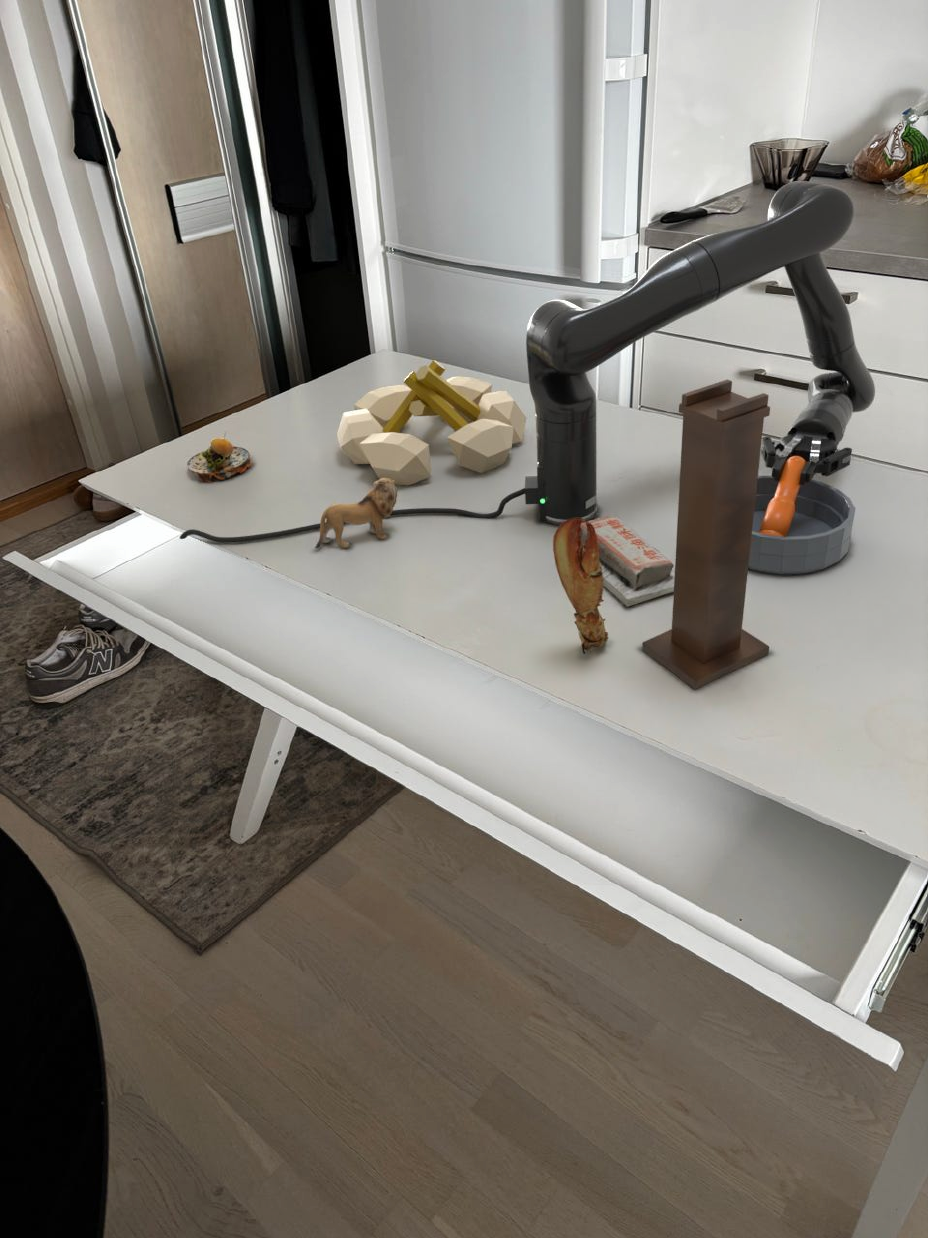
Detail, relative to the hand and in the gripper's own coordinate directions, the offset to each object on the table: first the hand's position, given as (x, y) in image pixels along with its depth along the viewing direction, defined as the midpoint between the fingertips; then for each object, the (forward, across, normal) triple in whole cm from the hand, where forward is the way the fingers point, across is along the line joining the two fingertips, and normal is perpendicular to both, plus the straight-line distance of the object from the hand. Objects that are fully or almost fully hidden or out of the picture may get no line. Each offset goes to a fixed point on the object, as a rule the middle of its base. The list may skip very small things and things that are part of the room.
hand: (789, 476), depth 137 cm
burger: (+13, -101, +9) cm, 102 cm away
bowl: (+3, 0, +9) cm, 10 cm away
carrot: (+2, 0, +5) cm, 5 cm away
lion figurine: (+25, -60, +9) cm, 66 cm away
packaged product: (+19, -18, +9) cm, 28 cm away
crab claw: (+39, -15, +9) cm, 42 cm away
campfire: (-9, -67, +9) cm, 69 cm away
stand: (+33, -1, +9) cm, 35 cm away
